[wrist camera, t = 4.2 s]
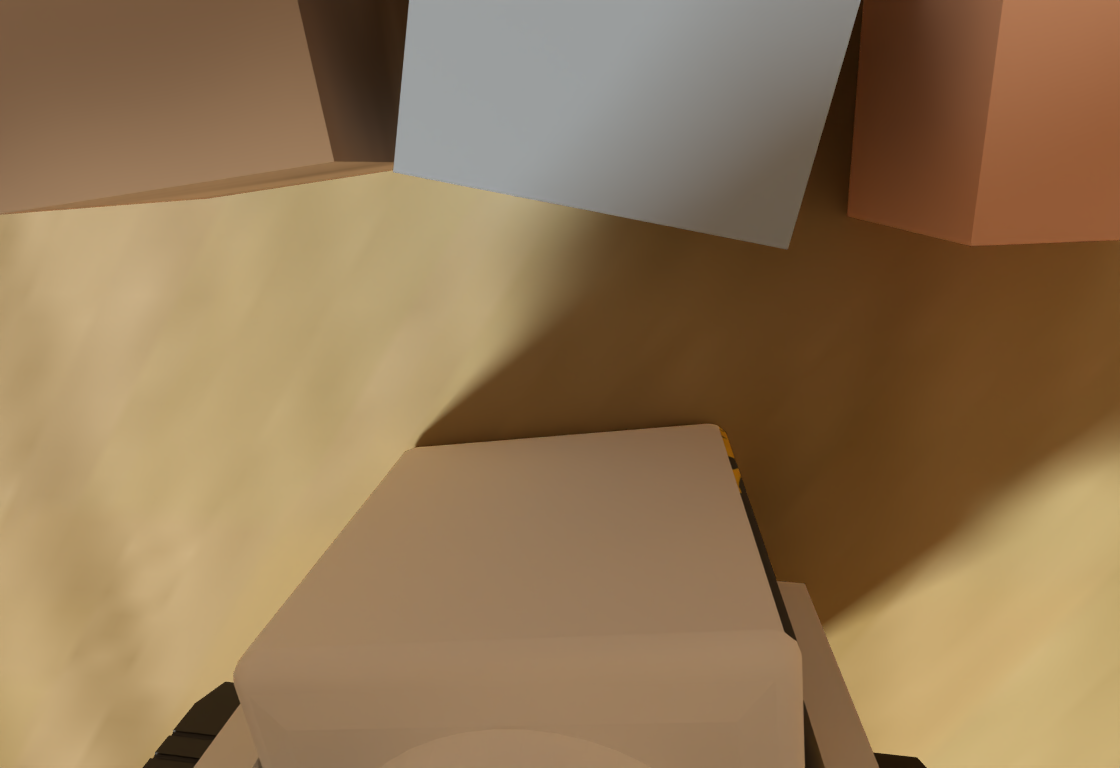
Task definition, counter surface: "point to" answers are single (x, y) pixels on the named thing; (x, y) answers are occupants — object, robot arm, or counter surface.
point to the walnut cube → (192, 97)
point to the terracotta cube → (989, 120)
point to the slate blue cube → (626, 105)
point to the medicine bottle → (538, 617)
